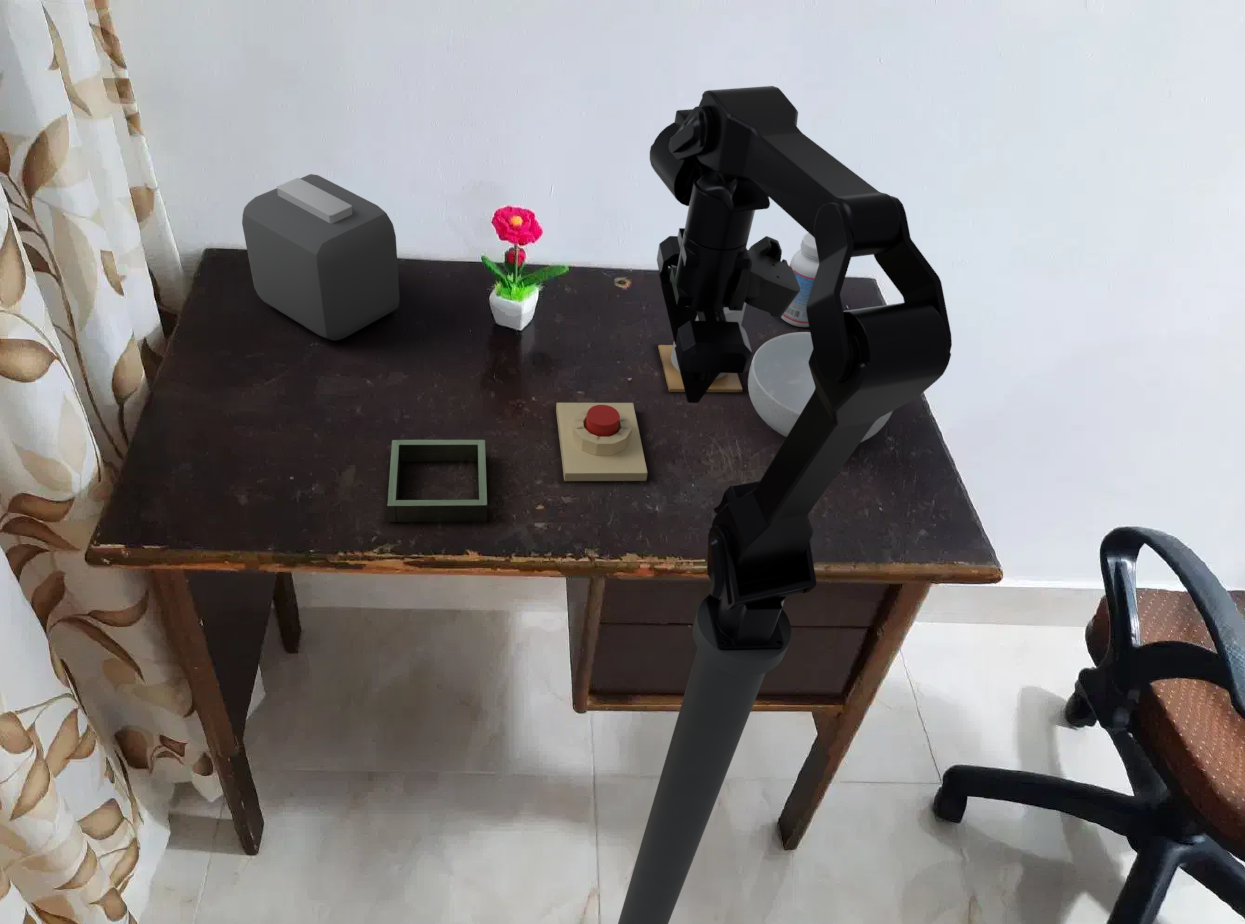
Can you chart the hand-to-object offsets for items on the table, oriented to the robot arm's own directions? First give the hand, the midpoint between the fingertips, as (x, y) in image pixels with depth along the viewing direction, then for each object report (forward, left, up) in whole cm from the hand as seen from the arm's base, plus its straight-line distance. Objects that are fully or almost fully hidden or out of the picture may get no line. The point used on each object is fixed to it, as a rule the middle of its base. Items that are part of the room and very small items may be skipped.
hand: (686, 372), depth 96 cm
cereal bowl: (+8, -18, -13) cm, 24 cm away
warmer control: (+4, +7, -13) cm, 15 cm away
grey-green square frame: (-3, +25, -13) cm, 29 cm away
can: (+18, -7, -13) cm, 23 cm away
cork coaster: (+18, -7, -13) cm, 23 cm away
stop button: (+4, +7, -10) cm, 13 cm away
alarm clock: (+30, +40, -13) cm, 52 cm away
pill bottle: (+30, -23, -13) cm, 40 cm away
